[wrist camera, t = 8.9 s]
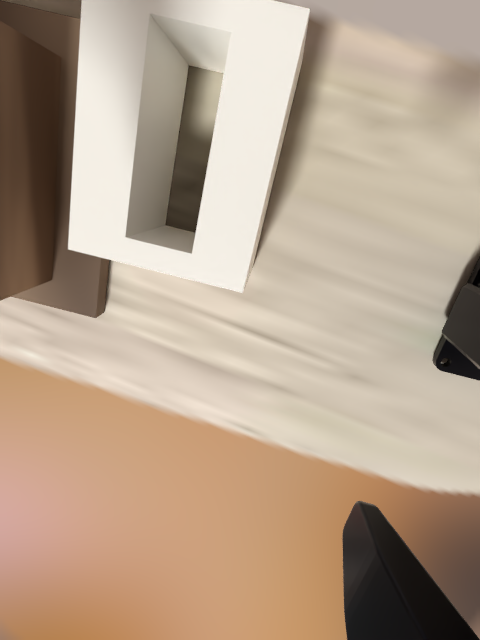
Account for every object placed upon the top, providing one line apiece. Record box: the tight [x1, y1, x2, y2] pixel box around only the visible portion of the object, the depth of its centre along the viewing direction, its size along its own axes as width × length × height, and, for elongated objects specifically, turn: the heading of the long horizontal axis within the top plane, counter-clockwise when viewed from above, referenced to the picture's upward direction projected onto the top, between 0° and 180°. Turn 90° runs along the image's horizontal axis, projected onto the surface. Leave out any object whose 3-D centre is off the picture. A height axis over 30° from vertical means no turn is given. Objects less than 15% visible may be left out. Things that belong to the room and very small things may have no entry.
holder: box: [68, 0, 310, 293], centre depth 15 cm, size 7×9×5 cm
